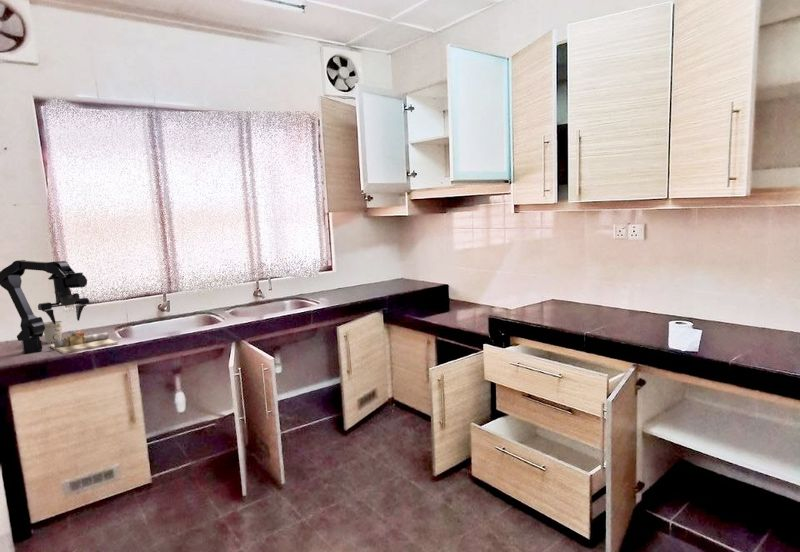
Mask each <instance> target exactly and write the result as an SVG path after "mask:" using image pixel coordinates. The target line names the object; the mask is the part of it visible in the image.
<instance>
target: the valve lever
mask: <svg viewBox="0 0 800 552" xmlns="http://www.w3.org/2000/svg"><path fill="white" fill-rule="evenodd" d="M70 335H76V336H78V337H80V336H84V335H85V332H84V331H78V330H72V331H71V332H70Z"/></svg>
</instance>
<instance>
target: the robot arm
mask: <svg viewBox="0 0 800 552" xmlns="http://www.w3.org/2000/svg"><path fill="white" fill-rule="evenodd" d="M26 270H30V271H39V272H40V271H43V272H46V273H47V274H51V275H50V276H49V277H48V280H49V281H50V280H52V282H53V287H54V294H55V302H52V303H51V302H42V303H39V304H38V305H37V309H38V311H42V312H44V313H46V314H47V316H48V317H49V319H50V320H51V322H53V323H54V325H55V324H56V322H55V321H56V318H55V314H54V309H52V308H58V307H67V306H74V305H75V313H76V320H77V322H78V321H80V319H81V316H82V312H83V309H84V308H85V307H87V305H89V304H90V298H88V297H80V293H78V292H77V293H72V291H71V289H74V288H75V289H76V288H78V289H79V288H85V287H86V286H87V284H88V279H87V277H86V276H85V275H84V274H83V272H81V271H80V272H76V271H74V269H73V268H72V267H71V266H70V264H69V262H67V260H61V261H60V260H58V261H48V262H45V261H34V260H33V261H32V260H25V259H21V260H20V259H19V260H15V261H13V262H12V263H11V264H8V266H6V267H4V268H2V269H1V270H0V286H1V288H3V289H4V290H6V291H7V292H8V294H9V296H10V299H11V301H12V303H13V305H14V307H15V309H16V311H17V313H18V314H19V317H20V329H21V330H20V332H19V333H18V334H17V335H16V338H17V341H21V347H22V350H21V353H23V354H24V355H25V354H26V355H27V354H32V353H37V352H42V351H43V345H42V344H43V343H42V340H41V339H40V338H42V337H44V330H45V326H44V325H45V323H46V322H44V320H43V318H42V316H39V317H38V316H36V315H35V314H34V312H33V310H32V308H31V305H30V303H29V302H28V299H27V297H26V296H25V293H24V292H23V289H22V278H21V277H22V276H23V275H24V274H25V271H26Z"/></svg>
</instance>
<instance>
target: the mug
mask: <svg viewBox="0 0 800 552" xmlns="http://www.w3.org/2000/svg"><path fill="white" fill-rule="evenodd" d="M55 322H56V324H55V325H54V323H53V322H52V321H48V322H44V323H45V325H44V326H45V330H44V332H43V336H44V338H45V342H46V344H51V343H50V342H54V341H57V340H62V334H63V333H62V331H63V321H61V320H57V321H56V320H55Z"/></svg>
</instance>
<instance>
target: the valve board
mask: <svg viewBox="0 0 800 552" xmlns="http://www.w3.org/2000/svg"><path fill="white" fill-rule="evenodd" d="M118 342H119V341H116V340H113V339H110V338H109V333H108V331H106V332H102V333H101V332H100V333H94V334H90V335H85V334H84V336H80V337H78V336H76V335H71V334H68V335H66V337H64V338H63V339H61V340H57V341H54V343H52V344H49V348H50V349H54V350H55V351H58V352H60V353H61V354H69V353H70V354H71V353H75V352H81V351H87V350H91V349H98V348H103V347H102V346H104V347H108V346H107V345H110V346H113V345H112V344H115V345H118V344H119V343H118ZM117 343H118V344H117Z"/></svg>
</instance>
